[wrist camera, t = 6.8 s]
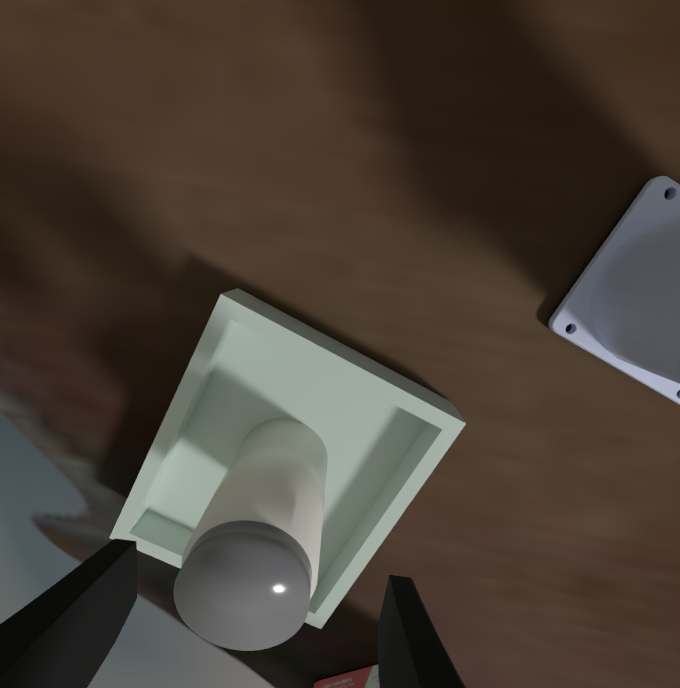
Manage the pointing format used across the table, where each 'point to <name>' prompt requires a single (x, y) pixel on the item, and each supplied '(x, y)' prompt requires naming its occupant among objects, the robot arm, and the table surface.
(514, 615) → the table surface
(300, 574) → the shaker
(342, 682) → the ink cartridge box
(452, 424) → the tray
